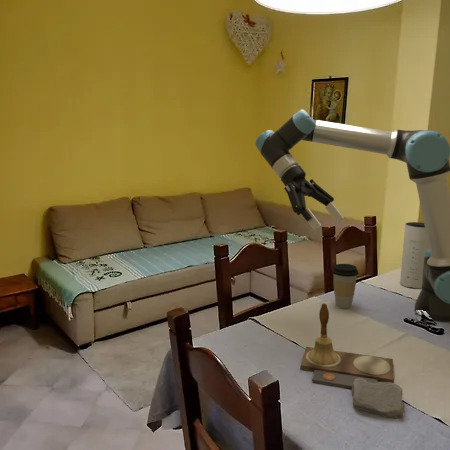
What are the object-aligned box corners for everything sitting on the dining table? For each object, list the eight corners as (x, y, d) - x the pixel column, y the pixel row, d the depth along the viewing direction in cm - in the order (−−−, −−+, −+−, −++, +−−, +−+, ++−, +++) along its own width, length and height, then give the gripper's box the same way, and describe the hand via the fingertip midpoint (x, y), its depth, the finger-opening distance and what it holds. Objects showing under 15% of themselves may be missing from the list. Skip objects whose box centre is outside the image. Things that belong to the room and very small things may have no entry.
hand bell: (315, 366, 121) (317, 311, 118) (303, 351, 129) (305, 299, 126) (343, 363, 123) (346, 308, 119) (330, 348, 131) (332, 297, 127)
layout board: (392, 362, 125) (392, 357, 125) (393, 383, 115) (393, 378, 115) (306, 350, 133) (306, 345, 133) (300, 369, 123) (300, 364, 123)
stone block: (405, 427, 102) (401, 394, 111) (406, 411, 100) (402, 379, 109) (351, 420, 105) (351, 389, 114) (351, 404, 103) (351, 374, 112)
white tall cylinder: (430, 284, 186) (436, 222, 180) (422, 291, 178) (428, 227, 173) (405, 278, 193) (409, 219, 187) (396, 285, 185) (400, 223, 180)
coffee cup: (354, 301, 169) (356, 263, 166) (358, 311, 160) (361, 271, 157) (328, 300, 170) (330, 262, 167) (332, 310, 161) (333, 270, 158)
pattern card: (377, 382, 116) (377, 378, 116) (377, 393, 111) (377, 389, 111) (314, 372, 121) (314, 369, 121) (312, 382, 116) (312, 378, 116)
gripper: (303, 176, 154) (341, 224, 148) (258, 183, 137) (299, 239, 130) (317, 161, 150) (357, 210, 143) (273, 167, 132) (315, 223, 125)
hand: (329, 224), depth 136 cm, fingers open, 13 cm apart
